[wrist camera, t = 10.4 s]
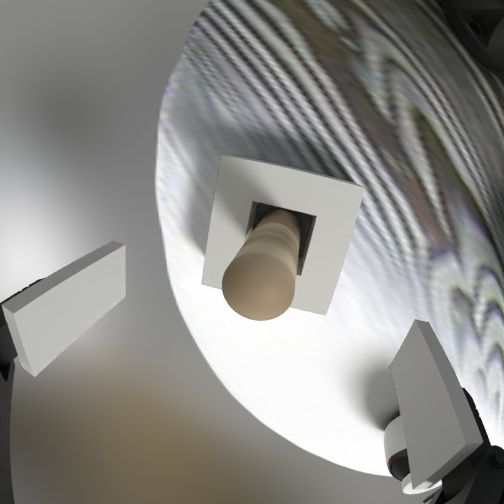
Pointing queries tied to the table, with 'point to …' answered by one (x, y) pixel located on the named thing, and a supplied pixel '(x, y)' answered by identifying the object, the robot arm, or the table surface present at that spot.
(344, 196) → the socket block
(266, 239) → the peg
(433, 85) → the table surface
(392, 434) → the spread jar
